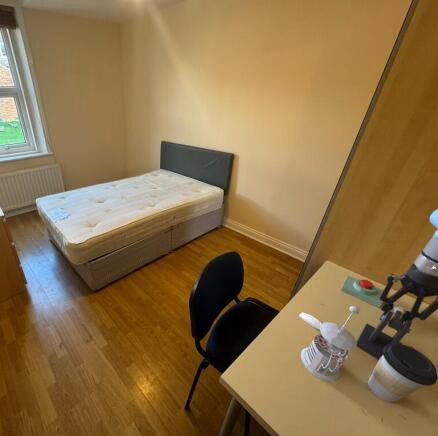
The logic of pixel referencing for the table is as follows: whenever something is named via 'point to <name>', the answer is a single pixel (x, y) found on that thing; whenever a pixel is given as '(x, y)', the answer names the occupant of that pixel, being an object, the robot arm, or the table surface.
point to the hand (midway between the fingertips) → (389, 322)
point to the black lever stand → (380, 336)
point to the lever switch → (397, 317)
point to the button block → (362, 291)
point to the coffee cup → (401, 373)
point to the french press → (329, 350)
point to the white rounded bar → (311, 320)
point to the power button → (366, 284)
